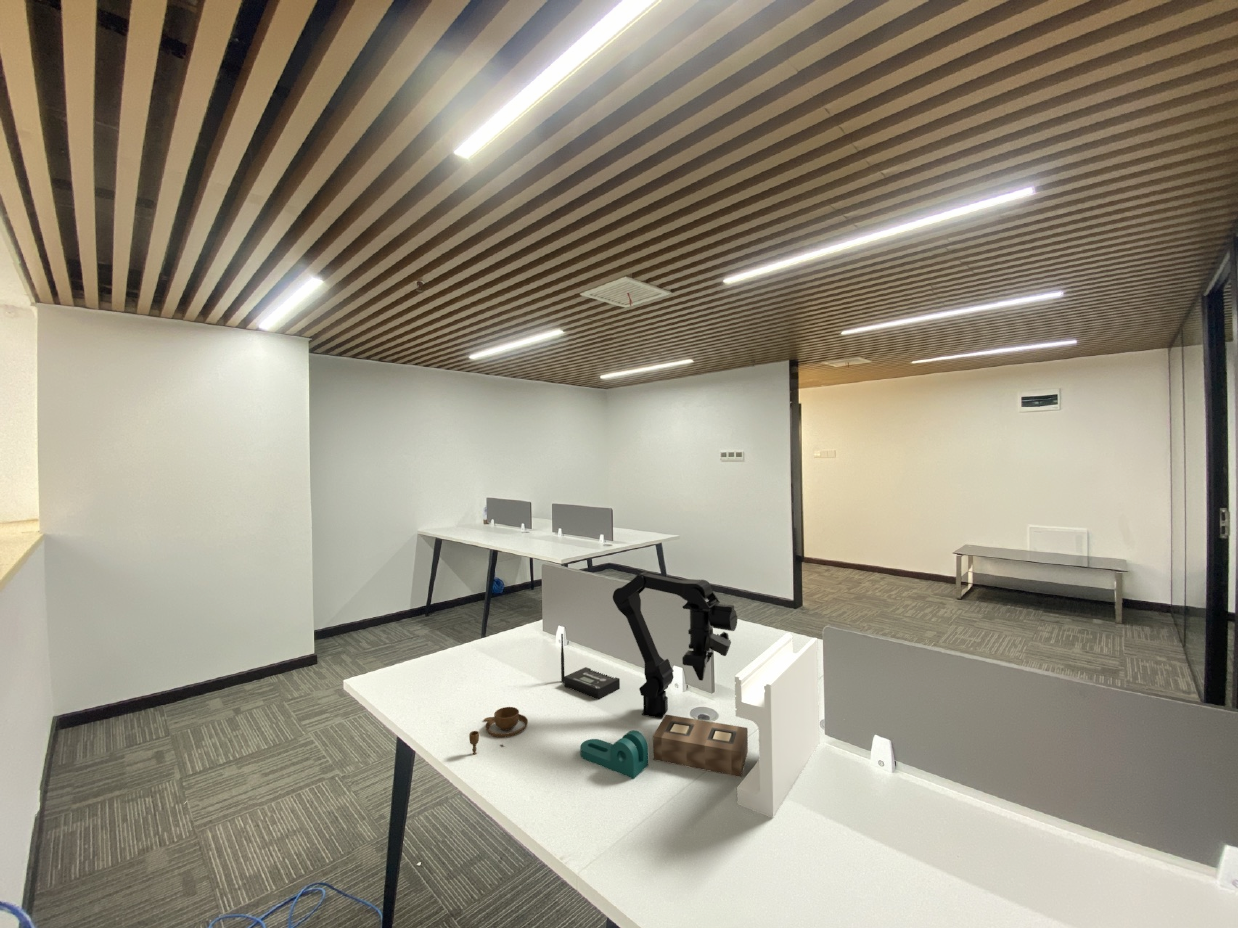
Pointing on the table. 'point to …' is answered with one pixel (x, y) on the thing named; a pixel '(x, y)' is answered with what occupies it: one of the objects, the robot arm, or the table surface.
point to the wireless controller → (588, 681)
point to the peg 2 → (722, 736)
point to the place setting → (500, 725)
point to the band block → (701, 745)
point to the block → (779, 720)
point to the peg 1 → (680, 729)
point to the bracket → (618, 754)
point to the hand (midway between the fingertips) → (701, 679)
